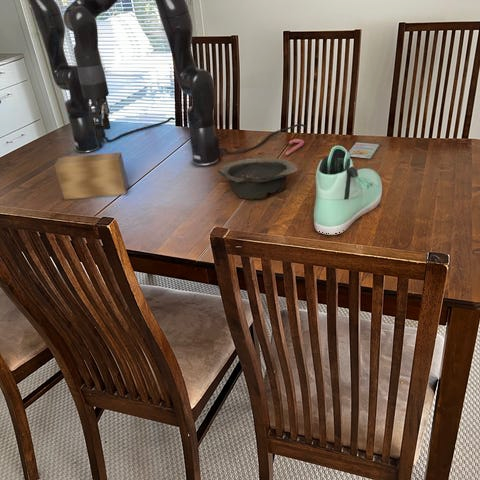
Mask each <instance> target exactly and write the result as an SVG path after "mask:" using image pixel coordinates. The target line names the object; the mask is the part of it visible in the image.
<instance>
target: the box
mask: <svg viewBox="0 0 480 480" xmlns="http://www.w3.org/2000/svg"><path fill="white" fill-rule="evenodd" d="M54 168H55V172H56V176H57V179H58V183H59V185H60V186H59V187H60V189H61V192H62V197H63V200H75V199H86V198H99V197H110V196H111V197H112V196H121V195H126V194H127V191H128V188H129V183H128V178H127V174H126V173H127V172H126V168H125V163H124V159H123V154H122V152H121V151H120V152H110V153H99V154H85V155H73V156H64V157H59V158H58V159H57V161H55V163H54Z"/></svg>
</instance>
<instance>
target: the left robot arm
mask: <svg viewBox="0 0 480 480" xmlns="http://www.w3.org/2000/svg"><path fill="white" fill-rule="evenodd" d="M28 2H29V5H30V8H31V11H32V15H33V17H34V20H35V23H36V26H37V28H38V31H39V34H40V36H41V39H42V43H43V46H44V48H45V52H46V55H47V58H48V63H49V67H50V71H51V74H52V75H51V76H52V78H53V82H54V83H55V85H56V86H57V88H59V89H61V90H63V91H69V92H68V93H69V99H67V100H65V102H64V106H65V110H66V114H67V115H66V116H67V118H68V122H69V126H70V130H71V133H72V137H73V143H74V146H75V148H76V149H75V150H76V152H77V153H80V154H87V153H92V152H96V151H97V150H99V149H100V148H102V143H104V142H105V141H106V142H107V143H112V142H114V141H117V140H119V139H121V138H122V137H124V136H127V135H130V134H133V133H136V132H139V131H143V130H147V129H150V128H154V127H158V126H162V125H165V124H168V123H169V122H170V121H171V120H172V121H176V118H175V117H169V118H167V120H164V121H161V122H157V123H154V124H150V125H147V126H142V127H138V128H135V129H132V130H130V131H127V132H123V133H120V134H119V135H117V136H115V137H114V138H112V139H109V138H108V137H107V136H105V138H98V135H97V131H96V127H95V126H93V125H92V121H91V116H90V111H89V106H90V105H91V100H90V99H85V98H84V97H83V93H82V89H81V84H80V80H79V76H78V68H77V65H72V64H69V63H68V60H67V57H66V54H65V48H64V46H65V45H64V44H65V37H66V25H65V23H64V17H63V15H62V12H61V9H60V7H59V5H58V3H57V2H56V0H28ZM0 104H2V100H0Z"/></svg>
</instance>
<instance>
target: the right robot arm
mask: <svg viewBox="0 0 480 480" xmlns="http://www.w3.org/2000/svg"><path fill="white" fill-rule="evenodd" d="M118 1H119V0H74V1H73V2H72V3H70V5H68V6H67V8H66V9H65V11H64V13H63V21H64V25H65V28H67V29H68V30H69V31H71V32H72V33H73V37H74V43H75V44H74V46H73V54H74V59H75V64H76V66H77V68H78V76H79V80H80V84H81V89H82V93H83V97H84V98H85V99H90V106H89V111H90V116H91V121H92V125H93V126H95V127H96V131H97V135H98V138H105V137H107V136H106V132H105V131H106V130H111V122H110V118H109V117H110V113H111V112H110V107H109V103H108V100H107V97H108V96H109V93H110V92H109V87H108V82H107V77H106V73H105V68H104V66H103V63H102V59H101V53H100V50H99V31H98V30H99V29H98V23H97V19H96V18H97V17H99V16H100V15H101V14H104V13H106V12H108V11H109V10H110V9H111V8H112V7H113V6H114V5H116V3H117V2H118ZM154 1H155V5H156V7H157V11H158V15H159V18H160V22H161V25H162V28H163V30H164V33H165V36H166V39H167V43H168V47H169V49H170V52H171V55H172V59H173V64H174V67H175V69H174V70H175V72H176V78H177V82H178V85H179V88H180V90H181V91H182V92H183V94H185V95H187V96H190V97H191V106H189V107H188V108H187V109H186V116H187V124H188V131H189V132H188V133H189V139H190V148H191V155H192V164H193V165H194V166H196V167H211V166H214V165H216V164H217V163H218V162H220V161H221V155H223V154H224V152H225V153H226V154H228V155H234V154H241V153H246V152H248V151H252V150H254V149H256V148H258V147H260V146H261V145H263V144H264V143H266V142H267V141H268V139H270V138H271V137H273V136H274V135H276V134H278V133H281V132H285V131H287V130H290V129H294V128H295V127H303V128H307V126H306V124H303V123H297V124H294V125H291V126H289V127H285V128H282V129H278V130H276V131H274V132H272V133H270V134H268V135H267V136H266V138H264V139H263V140H262V141H261V142H259V143H257V144H256V145H254V146H252V147H249V148H245V149H242V150H238V151H228V149H227V148H225V147H222V146H220V142H219V141H220V140H219V135H217V133H216V125H215V124H216V123H215V115H214V110H215V108H216V107H215V106H216V96H215V84H214V83H215V82H214V79H213V78H214V77H213V76H212V74H211V73H210V72H209V71H208V70H206V69H203V68H198V67H197V65H196V62H195V59H194V55H193V51H192V43H193V42H192V41H193V33H194V27H193V26H194V25H193V20H192V17H191V13H190V10H189V7H188V3H187V1H186V0H154Z"/></svg>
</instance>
